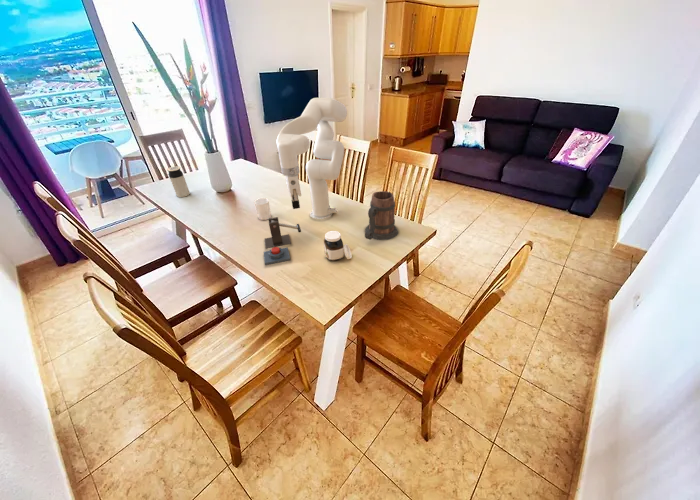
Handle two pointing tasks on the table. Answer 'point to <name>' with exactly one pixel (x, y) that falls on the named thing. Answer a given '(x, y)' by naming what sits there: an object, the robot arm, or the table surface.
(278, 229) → the bracket
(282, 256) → the button box
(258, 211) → the white cup
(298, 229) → the tap lever
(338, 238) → the spread jar
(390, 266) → the table surface
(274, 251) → the red push button
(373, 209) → the tankard
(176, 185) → the travel mug
